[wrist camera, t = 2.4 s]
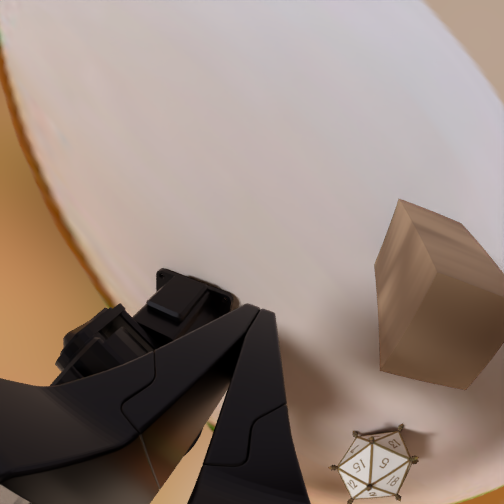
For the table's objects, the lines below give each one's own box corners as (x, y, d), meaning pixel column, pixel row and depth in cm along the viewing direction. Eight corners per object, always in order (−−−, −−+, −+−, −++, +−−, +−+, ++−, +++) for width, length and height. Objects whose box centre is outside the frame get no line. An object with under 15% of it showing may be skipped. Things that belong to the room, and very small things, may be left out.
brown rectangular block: (433, 285, 17) (465, 390, 9) (374, 264, 18) (379, 370, 10) (461, 223, 15) (526, 306, 7) (398, 198, 15) (437, 272, 8)
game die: (398, 405, 27) (446, 467, 18) (344, 450, 28) (382, 511, 20) (364, 402, 22) (425, 485, 14) (298, 454, 23) (342, 534, 15)
